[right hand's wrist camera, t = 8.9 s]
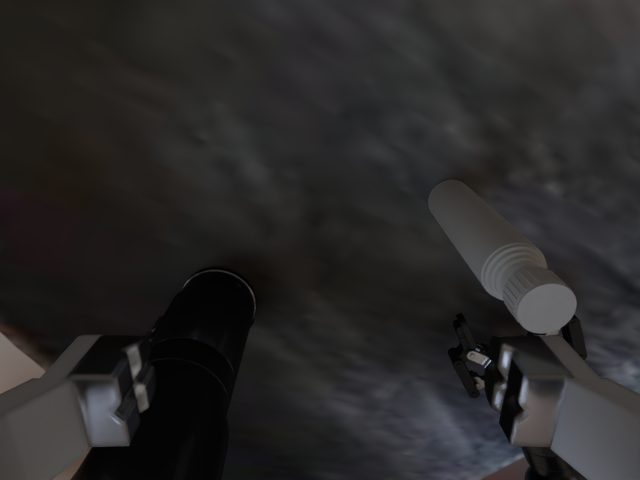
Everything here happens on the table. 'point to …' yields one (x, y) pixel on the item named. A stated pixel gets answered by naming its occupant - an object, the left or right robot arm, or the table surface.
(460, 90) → the table surface
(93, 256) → the table surface
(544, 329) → the cap
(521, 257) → the bottle
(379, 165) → the table surface
